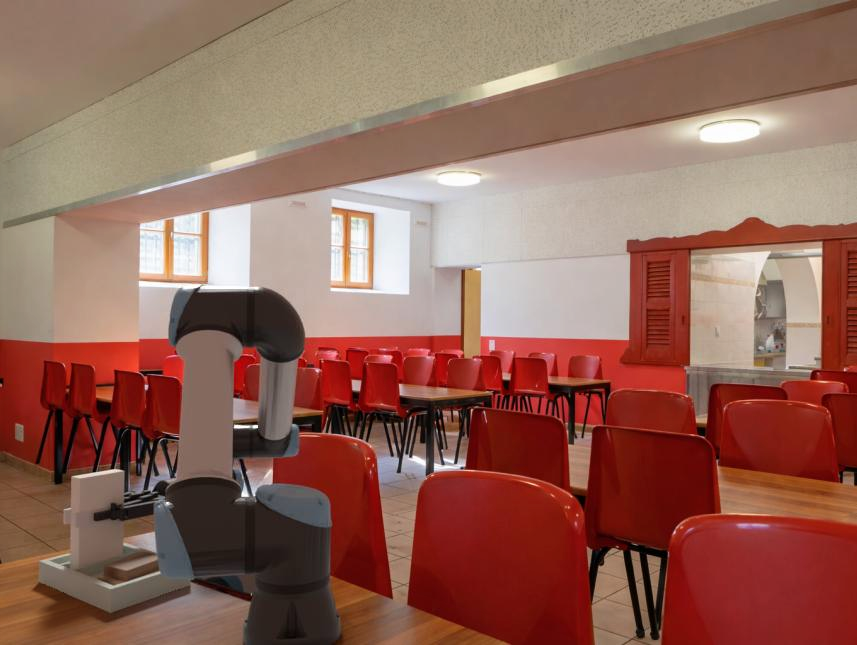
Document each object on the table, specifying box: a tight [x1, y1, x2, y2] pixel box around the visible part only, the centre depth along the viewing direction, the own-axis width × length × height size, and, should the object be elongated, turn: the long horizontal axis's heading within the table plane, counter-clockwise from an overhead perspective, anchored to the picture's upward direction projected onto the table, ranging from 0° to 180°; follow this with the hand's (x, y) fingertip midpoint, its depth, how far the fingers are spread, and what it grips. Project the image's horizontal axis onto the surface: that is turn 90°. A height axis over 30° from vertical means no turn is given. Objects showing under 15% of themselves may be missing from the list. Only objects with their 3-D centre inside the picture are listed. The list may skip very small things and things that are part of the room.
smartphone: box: [191, 574, 255, 601], centre depth 139 cm, size 12×2×25 cm
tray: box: [38, 541, 192, 614], centre depth 134 cm, size 24×16×4 cm, turn 55°
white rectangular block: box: [69, 468, 125, 569], centre depth 138 cm, size 3×9×18 cm, turn 145°
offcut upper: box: [104, 551, 159, 582], centre depth 131 cm, size 6×9×2 cm, turn 153°
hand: (70, 518), depth 133 cm, fingers closed on white rectangular block, 3 cm apart
